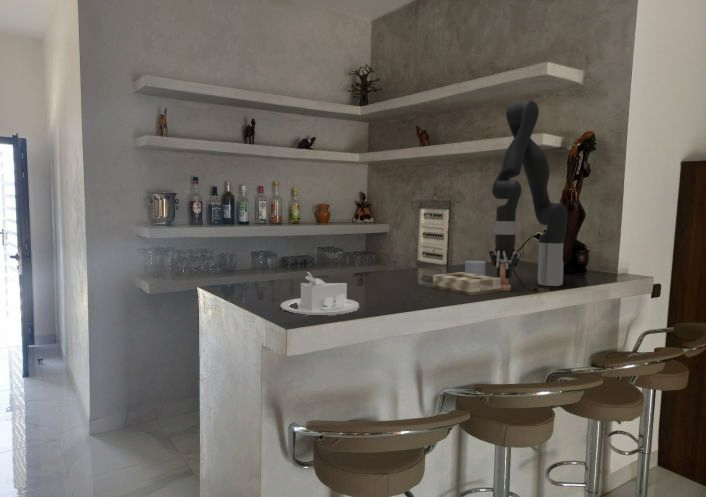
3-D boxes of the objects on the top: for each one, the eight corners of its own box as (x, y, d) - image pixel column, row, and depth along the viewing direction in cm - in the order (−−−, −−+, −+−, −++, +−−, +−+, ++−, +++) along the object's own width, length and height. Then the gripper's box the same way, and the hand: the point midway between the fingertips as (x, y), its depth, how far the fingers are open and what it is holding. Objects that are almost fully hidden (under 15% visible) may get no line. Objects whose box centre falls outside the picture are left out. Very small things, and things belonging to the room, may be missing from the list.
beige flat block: (432, 287, 201) (433, 275, 200) (461, 284, 210) (462, 272, 209) (471, 295, 184) (471, 281, 184) (500, 291, 193) (501, 278, 193)
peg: (502, 288, 201) (503, 262, 200) (513, 290, 196) (514, 264, 195) (493, 289, 198) (494, 263, 197) (504, 291, 193) (505, 265, 193)
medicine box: (485, 281, 217) (486, 261, 216) (483, 283, 213) (484, 262, 212) (466, 280, 221) (467, 260, 220) (464, 281, 217) (465, 261, 216)
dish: (294, 319, 146) (294, 280, 145) (272, 303, 169) (271, 270, 168) (371, 312, 156) (372, 276, 155) (340, 298, 179) (341, 266, 178)
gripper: (527, 233, 191) (525, 279, 193) (497, 231, 203) (495, 275, 205) (514, 234, 187) (512, 281, 189) (484, 232, 199) (483, 276, 200)
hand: (503, 277), depth 197 cm, fingers closed on peg, 3 cm apart
